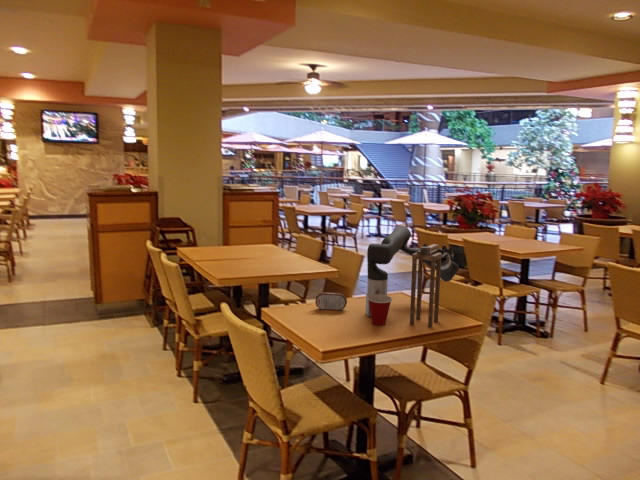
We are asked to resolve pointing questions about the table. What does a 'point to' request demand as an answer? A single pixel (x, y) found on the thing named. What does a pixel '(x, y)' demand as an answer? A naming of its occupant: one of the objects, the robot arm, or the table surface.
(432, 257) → the walnut stand
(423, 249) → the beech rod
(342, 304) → the tin
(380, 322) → the plastic cup
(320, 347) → the table surface
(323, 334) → the table surface
